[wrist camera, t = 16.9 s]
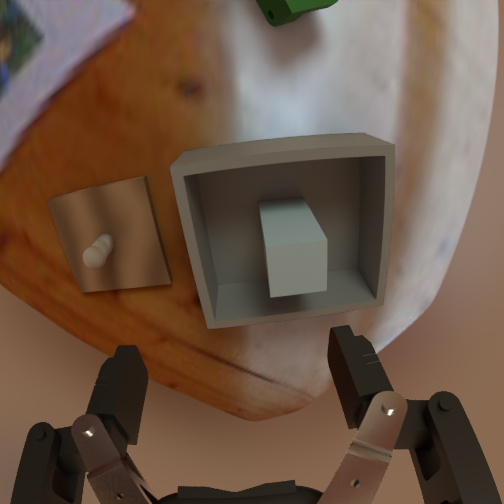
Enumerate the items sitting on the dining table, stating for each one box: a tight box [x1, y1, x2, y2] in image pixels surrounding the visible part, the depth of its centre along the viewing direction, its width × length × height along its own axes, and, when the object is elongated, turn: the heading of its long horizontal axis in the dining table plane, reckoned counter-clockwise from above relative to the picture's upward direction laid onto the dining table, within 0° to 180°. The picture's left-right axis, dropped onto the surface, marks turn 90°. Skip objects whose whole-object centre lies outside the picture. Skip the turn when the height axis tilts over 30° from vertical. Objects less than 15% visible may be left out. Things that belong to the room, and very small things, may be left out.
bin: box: [170, 133, 395, 329], centre depth 33 cm, size 20×18×8 cm
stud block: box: [47, 176, 172, 293], centre depth 34 cm, size 14×14×6 cm
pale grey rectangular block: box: [258, 197, 327, 297], centre depth 31 cm, size 5×5×11 cm
